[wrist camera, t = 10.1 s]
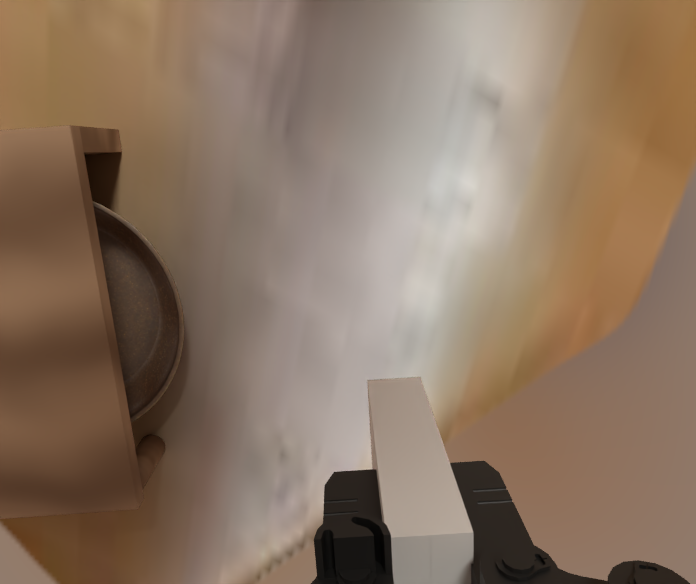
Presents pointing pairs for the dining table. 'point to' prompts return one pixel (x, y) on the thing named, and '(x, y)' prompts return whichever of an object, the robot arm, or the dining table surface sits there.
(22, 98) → the dining table surface
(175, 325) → the saucer
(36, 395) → the overhang shelf
